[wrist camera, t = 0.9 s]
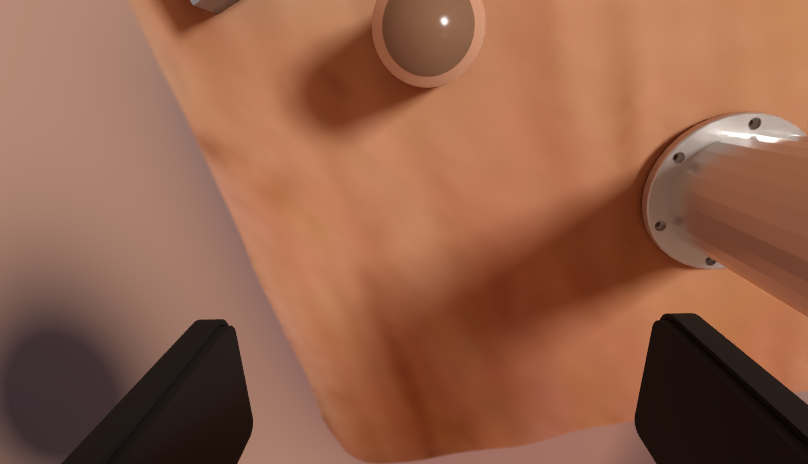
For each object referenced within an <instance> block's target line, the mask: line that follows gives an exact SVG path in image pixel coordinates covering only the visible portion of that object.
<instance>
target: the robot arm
mask: <svg viewBox="0 0 808 464" xmlns="http://www.w3.org/2000/svg"><path fill="white" fill-rule="evenodd" d="M674 155H675V157H674V158H673V156H674ZM642 216H643V220H644V224H645V227H646V230H647V232H648V234H649V235H650V237H651V239H652V241H653V242H654V243H655V244H656V245H657V246H658V247H659V248H660V249H661V250H662V251H663V252H665V253H666V254H667V255H669V256H670V257H671V258H673V259H675V260H677V261H679V262H681V263H683V264H685V265H689V266H692V267H695V268H702V269H724V268H728V269H729V270H731V271H733V272H734V273H736V274H738V275H739V276H741V277H743V278H744V279H746V280H748V281H749V282H751V283H753V284H754V285H756V286H758V287H759V288H761V289H763V290H764V291H766V292H767V293H769V294H771V295H772V296H774V297H776V298H777V299H779V300H781V301H782V302H784V303H786V304H787V305H789V306H791V307H792V308H794V309H796V310H797V311H799V312H801V313H802V314H804V315H806V316H807V317H808V137H807V136H806V134H805V133H804V132H803V131H802V130H801V129H800V128H798V127H797V126H796V125H795V124H793V123H792V122H790V121H788V120H786V119H784V118H781V117H779V116H776V115H771V114H766V113H760V112H736V113H727V114H724V115H720V116H716V117H713V118H710V119H708V120H706V121H704V122H701V123H699V124H697V125H695V126H693V127H692V128H690V129H689V130H687V131H686V132H684V133H683V134H681V135H680V136H679V137H678V138H677V139H676V140H675V141H673V142H672V143H671V144H670V145H669V146H668V147H667V148H666V149H665V151H664V152H663V153H662V154H661V156H660V157H659V158H658V159H657V161H656V163H655V164H654V166H653V168H652V170H651V172H650V173H649V176H648V178H647V181H646V184H645V187H644V191H643V198H642ZM656 223H657V224H656ZM635 426H636V430H637V433H638V435H639V437H640V438H641V440H642V441H643V443H644V445H645V446H646V448H647V449H648V451H649V452H650V454H651V455H652V457H653V459H654V460H655V462H656V463H657V464H808V405H807V404H806V403H805V402H804V401H803V400H801V399H800V398H799V397H798V396H796V395H795V394H794V393H793V392H791V391H790V390H789V389H788V388H787V387H785V386H784V385H783V384H782V383H780V382H779V381H778V380H777V379H776V378H774V377H773V376H772V375H771V374H769V373H768V372H767V371H766V370H765V369H763V368H762V367H761V366H760V365H758V364H757V363H756V362H755V361H754V360H752V359H751V358H750V357H749V356H747V355H746V354H745V353H744V352H743V351H741V350H740V349H739V348H738V347H736V346H735V345H734V344H733V343H732V342H730V341H729V340H728V339H727V338H725V337H724V336H723V335H722V334H720V333H719V332H718V331H717V330H716V329H714V328H713V327H712V326H711V325H709V324H708V323H707V322H706V321H705V320H703V319H702V318H701V317H700V316H698V315H696V314H693V313H678V314H664V315H663V316H662V317H661V318H660V320H657V321H655V322H654V324H653V327H652V331H651V337H650V342H649V347H648V352H647V357H646V362H645V367H644V372H643V377H642V382H641V387H640V392H639V398H638V403H637V408H636V413H635ZM252 428H253V417H252V412H251V407H250V402H249V397H248V391H247V386H246V381H245V376H244V371H243V366H242V361H241V356H240V351H239V346H238V341H237V336H236V331H235V328H234V327H233V326H228V323H227V322H226V321H225V320H223V319H220V320H219V319H216V320H197V321H195V322H194V323H193V324H192V325H191V326H190V327H189V328H188V330H187V331H186V332H185V333H184V334H183V335H182V336H181V337H180V338H179V339H178V340H177V341H176V342H175V343H174V345H172V347H171V348H170V349H169V350H168V351H167V352H166V353H165V354H164V355H163V356H162V357H161V358H160V359H159V360H158V362H157V363H156V364H155V365H154V366H153V367H152V368H151V369H150V370H149V371H148V372H147V373H146V374H145V375H144V376H143V378H142V379H141V380H140V381H139V382H138V383H137V384H136V385H135V386H134V387H133V388H132V389H131V390H130V391H129V392H128V393H127V395H126V396H125V397H124V398H123V399H122V400H121V401H120V402H119V403H118V404H117V405H116V406H115V407H114V408H113V410H112V411H111V412H110V413H109V414H108V415H107V416H106V417H105V418H104V419H103V420H102V421H101V422H100V423H99V424H98V425H97V426H96V428H95V429H94V430H93V431H92V432H91V433H90V434H89V435H88V436H87V437H86V438H85V439H84V441H82V442H81V444H80V445H79V446H78V447H77V448H76V449H75V450H74V451H73V452H72V453H71V454H70V455H69V456H68V457H67V458H66V459H65V461H64V462H63V463H62V464H237V463H238V461H239V459H240V457H241V455H242V453H243V450H244V448H245V446H246V444H247V442H248V440H249V438H250V435H251V432H252Z"/></svg>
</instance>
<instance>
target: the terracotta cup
mask: <svg viewBox="0 0 808 464" xmlns="http://www.w3.org/2000/svg"><path fill="white" fill-rule="evenodd" d="M485 26H486V19H485V11H484V6H483V2H482V0H377V1H376V4H375V7H374V11H373V16H372V36H373V42H374V45H375V49H376V51H377V54H378V56H379V58H380V59H381V61H382V63H383V64H384V65H385V67H386V68H387V69H388V70H389V71H390V72H391V73H392V74H393V75H394V76H395V77H397V78H398V79H400V80H401V81H403V82H405V83H407V84H410V85H413V86H417V87H424V88H428V87H438V86H442V85H445V84H447V83H450V82H452V81H454V80H455V79H457V78H458V77H460V76H461V75H462V74H463V73H465V72H466V70H467V69H468V68H469V67H470V66H471V65H472V63H473V62H474V61H475V59H476V57H477V55H478V54H479V51H480V49H481V47H482V43H483V40H484V35H485Z"/></svg>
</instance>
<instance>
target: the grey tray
mask: <svg viewBox="0 0 808 464" xmlns="http://www.w3.org/2000/svg"><path fill="white" fill-rule="evenodd" d="M190 1H191V3H192V4H193V6H196V7H199V8H202V9H205V10H208V11H211V12H214V13H216V14H219V13H221V12H222V11H224V10H225V9H227V8H228V7H230V6H231V5H233V4H234V3H236V2H237V1H239V0H190Z"/></svg>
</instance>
